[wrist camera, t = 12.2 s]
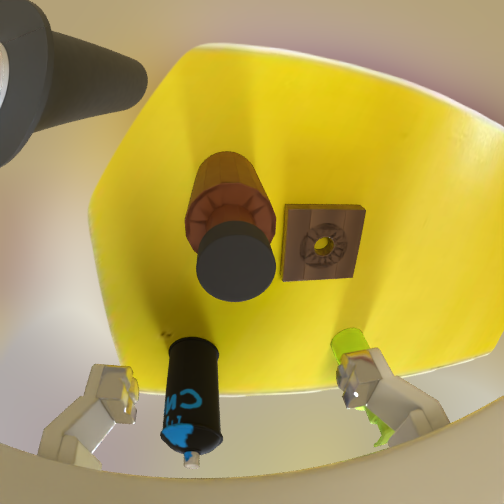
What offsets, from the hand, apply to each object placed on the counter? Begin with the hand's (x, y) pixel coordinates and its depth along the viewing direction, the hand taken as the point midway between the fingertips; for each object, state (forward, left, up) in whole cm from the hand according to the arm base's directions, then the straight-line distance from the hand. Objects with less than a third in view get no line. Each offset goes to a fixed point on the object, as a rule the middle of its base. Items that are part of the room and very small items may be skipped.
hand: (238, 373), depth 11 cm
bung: (0, 0, -12) cm, 12 cm away
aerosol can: (-6, -28, -27) cm, 39 cm away
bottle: (0, 0, -27) cm, 27 cm away
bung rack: (+12, -8, -27) cm, 30 cm away
